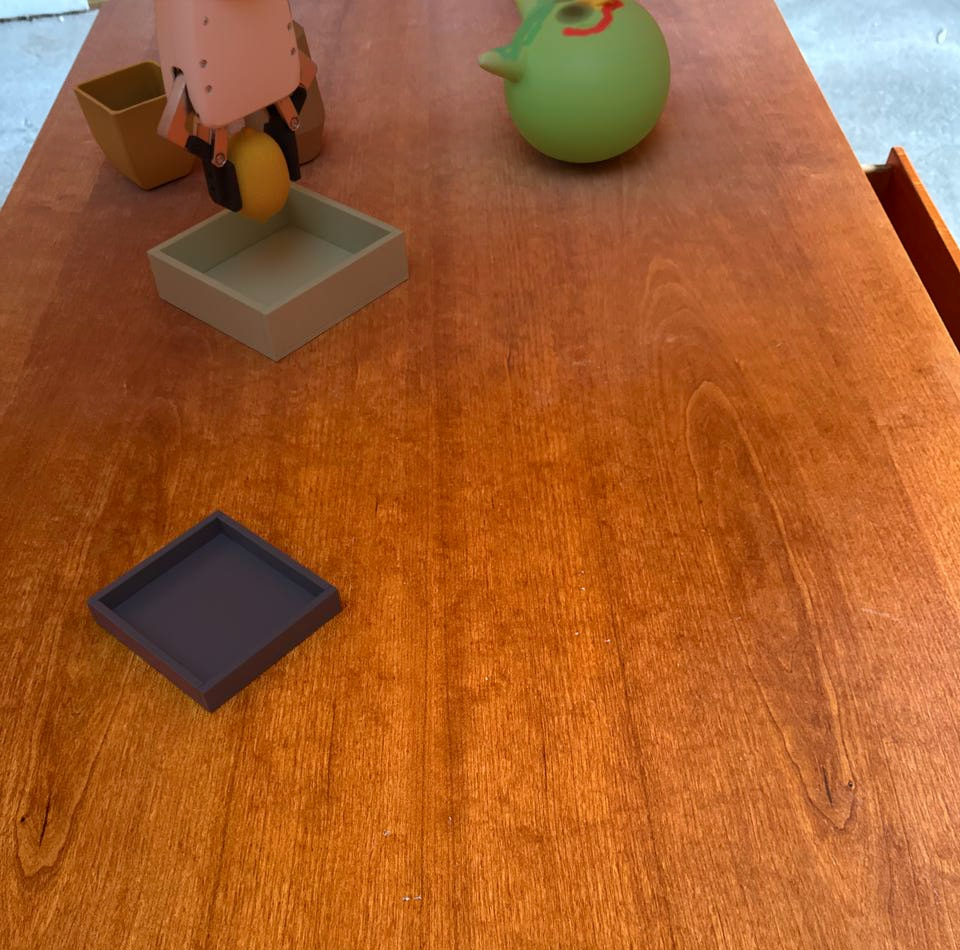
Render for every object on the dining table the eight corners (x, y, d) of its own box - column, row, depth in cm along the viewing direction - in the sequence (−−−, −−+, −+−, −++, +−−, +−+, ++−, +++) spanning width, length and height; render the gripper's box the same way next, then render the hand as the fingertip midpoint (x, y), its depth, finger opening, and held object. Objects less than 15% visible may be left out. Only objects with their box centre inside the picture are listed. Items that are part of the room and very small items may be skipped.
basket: (159, 297, 104) (145, 251, 100) (291, 223, 111) (282, 177, 107) (276, 362, 96) (265, 314, 93) (409, 277, 103) (404, 230, 100)
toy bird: (660, 195, 110) (670, 31, 99) (482, 191, 113) (473, 30, 102) (670, 107, 122) (680, -49, 111) (508, 105, 124) (503, -48, 113)
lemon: (309, 214, 99) (294, 120, 93) (269, 245, 96) (251, 149, 90) (257, 199, 101) (239, 106, 95) (216, 229, 98) (195, 134, 92)
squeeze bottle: (280, 182, 116) (242, -15, 103) (236, 154, 120) (195, -38, 107) (346, 153, 119) (318, -41, 106) (302, 127, 124) (269, -63, 110)
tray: (94, 620, 78) (85, 600, 77) (224, 529, 83) (218, 508, 82) (211, 714, 72) (203, 693, 71) (343, 609, 77) (338, 588, 76)
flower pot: (173, 145, 123) (150, 56, 116) (217, 174, 118) (195, 83, 111) (98, 175, 119) (69, 85, 112) (139, 206, 114) (112, 114, 108)
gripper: (269, -97, 89) (304, 139, 102) (79, -28, 81) (145, 218, 94) (337, -77, 85) (364, 164, 99) (146, -3, 77) (204, 249, 91)
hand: (256, 188), depth 96 cm, fingers closed on lemon, 5 cm apart
